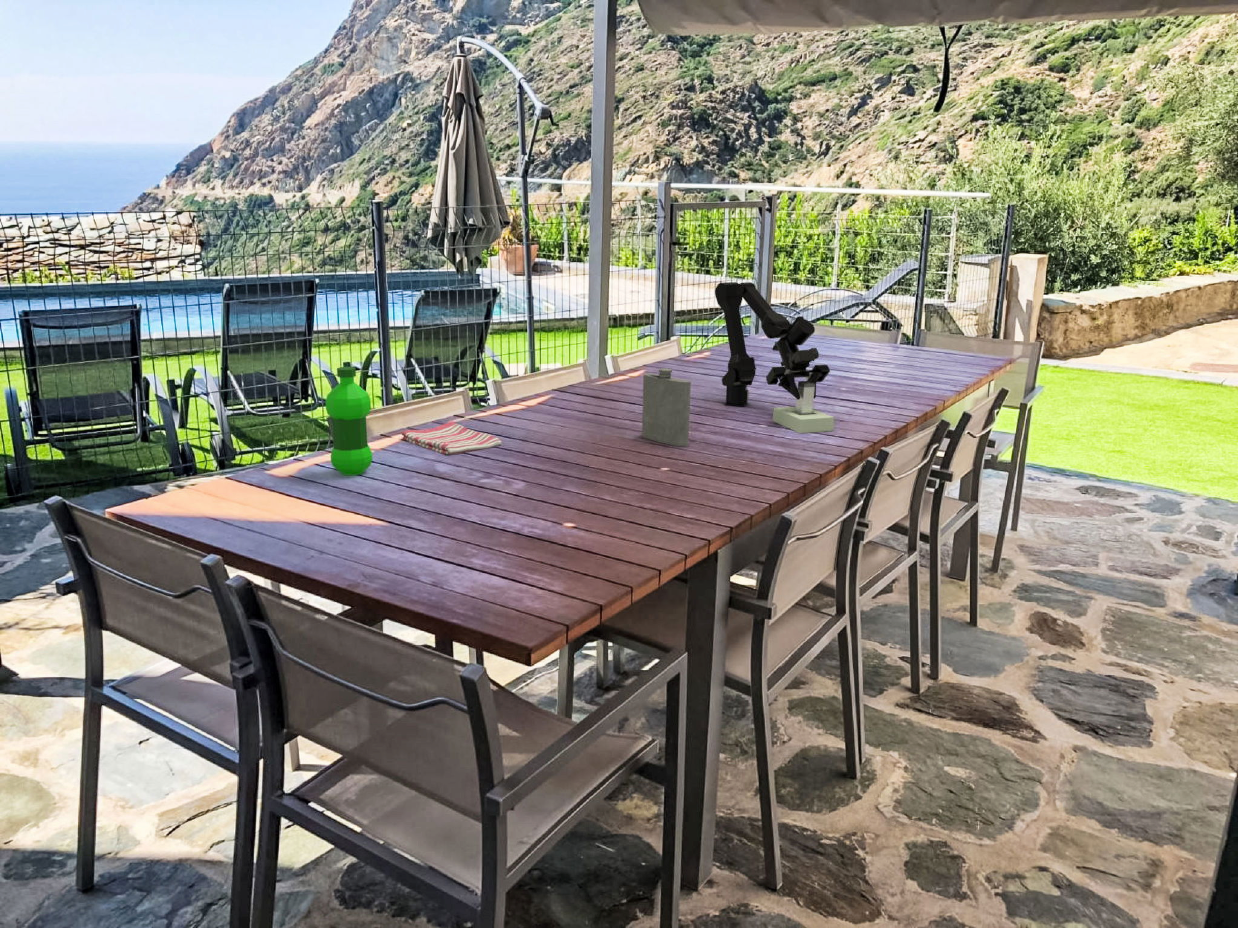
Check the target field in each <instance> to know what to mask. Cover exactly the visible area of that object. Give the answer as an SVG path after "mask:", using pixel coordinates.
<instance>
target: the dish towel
mask: <svg viewBox="0 0 1238 928" xmlns="http://www.w3.org/2000/svg"><path fill="white" fill-rule="evenodd" d="M401 435H402V436H403V437H402V440H403V441H407V442H408V443H410V444H414V445H418V446H419V447H422V448H424V449H428V450H431V451H434V452H436V453H439V454H444V455H451V456H452V455H457V454H458V455H459V454H463V453H469V452H474V451H480V450H485V449H491V448H494V447H498V446H499V447H501V446H502V441H501V439H500V438H498V437H495V436H493V435H492V434H489V433H486V432H479V431H475V430H472V429H468V428H466V427H465V426H463V425H461V424H459V423H456V422H454V420H451V421H448V422H446V423H444V424H441V425H438V426H436V427H433V428H426V429H421V430H416V429H408V430H405V429H404V430H403V431H402V432H401Z"/></svg>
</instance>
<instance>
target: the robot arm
mask: <svg viewBox="0 0 1238 928" xmlns="http://www.w3.org/2000/svg"><path fill="white" fill-rule="evenodd" d="M714 296H715V299H716V302H717V305H718V306H719V308H721V310H722V311H723V315H724V322H725V327H726V333H727V339H728V344H729V351H730V358H729V360H728V363H727V372H726V373H725V374H724V376H723V377H722V378H721V383H722V386H724V387H726V390H725V393H726V394H725V402H724V405H726V406H737V407H745V406H746V405H747V404H748V403H749V397H750V396H749V395H750V391H749V389H748V386H752V385H753V381H754V379H755V376H756V370H757V367H756V363H755V358H754V356H749V354H748V353H747V348H746V342H745V336H744V330H743V324H742V319H741V311H740V308H741V304H742V302H743V300H744V301H745V303H746V304H747V305H748V307H749V308H750V309H751V310H752V311H753V312H754V315H756V316H757V318H758V319H759V321H760V324H761V325H760V328H761V330H762V331H763V332H764V335H765V337H767V338H768V339H770V340H772V339H773V340H775V339H778V341H775V342H774V345H773V346H772V351H775V352H779V355H780V358H781V362H780V365H781V366H772V368H771V369H770V370H769V372H768V373H767V375H766V377H765V380H766V384H768V386H772V385H778V387H781V388H783V389H784V390H786V391H787V392H788V393H790V394H791V395H792V396H793V397H794V398H795V399H796V400H797V399H798V400H799V399H800V394H799V391H798V385H797V383H796V381H795V378H796V379H798V378H805V381H810V382H812V383H815V389H814V399H816V397H817V383H821V382H823V381H824V380H825V379H826V377H827V376H828V375H829V374H830V373H831V369H830V368H829V365H828V364H815V365H814V366H813V368H812V369H807V368H809V366H810V365H811V364H810V363H811V362H815V361H816V360H817V359H818V358H819V357H820V354H819V351H818V349H817V347H811V348H808V349H801V350H800V349H799V346H802V345H804V344H805V343H806V342H807V341H808V340H809V339H810V338H811V337H812V335H813V334H814V333H815V331H816V328H815V326H814V324H813V323H811V322H810V321H809V320H807V319H805V317H804V316H802V315H801V316H800V315H799V316H797V317H796V318H795V319H794V321H793V322H792V323H791V322H790V320H789V319H788V318H787V317H785V316H784V315H783V314H781V313H778V312H776V311H775V310H774V309H773V308H772V306H771V305H770V304H769V303H768V301H767V300H766V299H765V298H764V297H763V295H762V294H761V293H760V292H759V291H758V289H757V287H756V285H755V283H753V282H749V281H747V282H740V283H738V282H737V281H729V282H726V281H725V282H719V283H718V284H717V285H716V287H715V289H714ZM814 399H813V400H814Z"/></svg>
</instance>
